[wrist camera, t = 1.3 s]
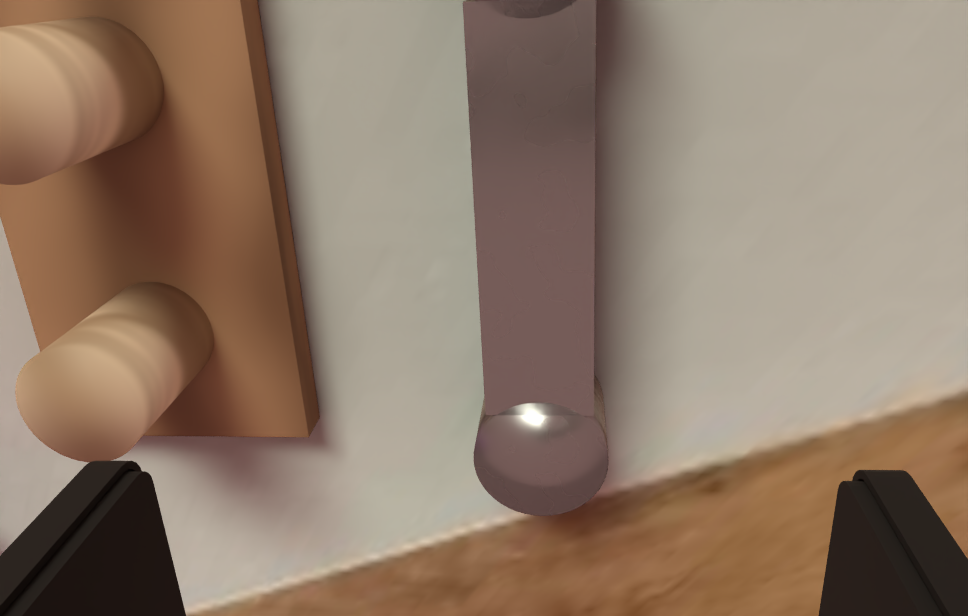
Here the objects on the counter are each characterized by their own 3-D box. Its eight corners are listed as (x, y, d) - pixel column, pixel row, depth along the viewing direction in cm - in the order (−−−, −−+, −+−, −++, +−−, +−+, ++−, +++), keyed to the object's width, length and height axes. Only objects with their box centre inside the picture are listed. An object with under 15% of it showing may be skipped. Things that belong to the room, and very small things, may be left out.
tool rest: (245, -79, 25) (136, -91, 19) (319, 416, 32) (258, 529, 26) (-49, -61, 26) (-246, -67, 20) (85, 415, 33) (-28, 523, 27)
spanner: (609, -162, 24) (617, -184, 20) (602, 453, 32) (607, 517, 28) (454, -151, 24) (433, -171, 20) (487, 451, 32) (476, 514, 29)
